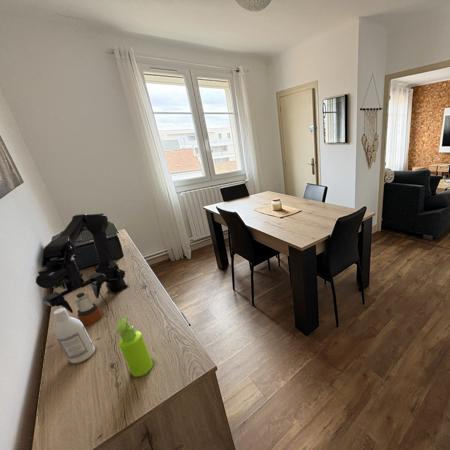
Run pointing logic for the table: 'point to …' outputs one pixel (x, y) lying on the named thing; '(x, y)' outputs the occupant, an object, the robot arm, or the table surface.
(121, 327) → the soap dispenser
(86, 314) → the amber bottle
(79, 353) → the bath foam
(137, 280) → the table surface
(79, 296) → the white bottle
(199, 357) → the table surface
